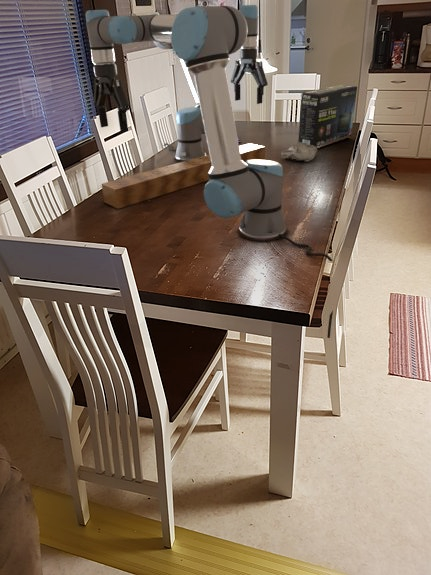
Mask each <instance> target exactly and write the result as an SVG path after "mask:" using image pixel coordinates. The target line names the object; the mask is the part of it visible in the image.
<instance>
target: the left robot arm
mask: <svg viewBox="0 0 431 575" xmlns="http://www.w3.org/2000/svg"><path fill="white" fill-rule="evenodd" d="M238 10H239V11H240V12H241V13H242V14H243V16H244V17H245V19H246V22H247V27H248V32H247V38H246V40H245V43H244V44H243V46H242V47H241V48H240V49H239V59H236V60H235V61H234V62H235V64H234V69H233V70H232V71H233V72H232V75H231V77H230V83H232V85H233V92H234V101H241V83H240V82H241V80H242V79H243V77H244V75H245V74H246V73H248V74H249V73H250V75H252V77H253V79H254V81H255V83H256V84H257V87H256V104H257V105H260V104H263V96H264V94H265V93H264V90H265V87H267V86H268V81H267V77H266V74H265V69H264V67H263V61H262V60H260V61H257V59H258V54H259V52H258V51H259V49H258V48H257V47H258V46H259V44H258V43H259V41H258V40H259V6H258V5H257V4H241V5H240V6H239V9H238ZM152 42H153V44H154V45H155V47H157V48H159V49H161V50H172V52H173V54H174V56H175V57H177V55H176V54H175V52H174V50H173V47H172V42H161V41H159V42H157V41H152ZM179 62H180V64H181V67H182V71H183V73H184V75H185V78H186V81H187V83H188V86H189V89H190V92H191V95H192V97H193V100H194V103H195V105H194V106H186V107H183V108H180V109H178V110H177V111H176V114H175V122H176V133H177V136H176V137H177V145H176V149H175V148H173V146H172V145H171V144H169V143H167V142H165V143H164V144H163V147H166V146H168V147H169V150H170V151H172V152H175V157H174V158H175V160H176V161H178V162H179V163H180V162H183V161H187V160H191V159H194V158H198V157H202V156H205V155H207V152H206V150H205V147H204V145H203V144H204V143H203V140H202V135H206V134H205V129H204V124H203V119H202V114H201V109H200V104H199V99H198V94H197V89H196V84H195V79H194V76H193V74H191V73H190V72H189V71H187V69H186V64H185V61H183V60H181V59H179Z"/></svg>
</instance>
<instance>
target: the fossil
mask: <svg viewBox="0 0 431 575" xmlns="http://www.w3.org/2000/svg"><path fill="white" fill-rule="evenodd" d="M316 152H317V153H318V149H317V147H315V146H314V145H308V144H307V143H303V142H298V141H297V143H296V145H291V146H289V148H288V149H284V150H282V151H281V152H280V156H281V158H282V159H284V160H289V159H291V158H292V159H291V160H293V159H297V160H296V161H303V160H309V161H303V162H304V163H309V162H310V161H312V160H314V158H315V156H316V155H317V153H316ZM282 156H288V157H290V158H283V157H282Z"/></svg>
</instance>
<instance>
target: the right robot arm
mask: <svg viewBox="0 0 431 575" xmlns="http://www.w3.org/2000/svg"><path fill="white" fill-rule="evenodd" d="M239 10H240V9H237V8H236V7H233V6H232V5H231V6H230V5H195V6H190V7H186V8H183V9H181V10H180V11H179V12H178V13H177V14H158V13H153V14H140V15H139V14H137V15H113V16H110V12H109V10H108V9H93V10H87V11H86V12H85V21H86V23H85V26H86V31H87V35H88V41H89V46H90V47H89V48H90V54H91V61H92V63H93V66H92V67H93V72H94V76H95V78H94V79H93V83H94V84H93V85H94V88H93V106H95V107H96V109H97V111H98V112H97V113H98V118H99V119H98V120H99V124H100V128H106V127H109V121H108V116H107V114H108V113H107V109H106V100H107V97H108V95H109V97H111V99H112V101H113V103H114V105H115V106H116V108H117V118H118V124H119V125H118V126H119V131H120V133H125V132H129V126H128V119H127V118H128V117H127V116H128V115H127V112H128V111H130V106H129V103H128V100H127V97H126V95H125V93H124V90H123V86H122V81H121V79H115V77H117V76H118V68H117V64H116V63H115V62H116V55H115V54H116V53H115V49H114V45H129V44H133V43H143V42H153V41H157V42H159V41H161V42H172V47H173V49H172V51H173V50H174V52H175V54H176V55H177V56H176V57H177V58H178V59H179V60H180V59H181V60H183V61H185V64H186V69H187V71H189V72H190V73H191V74H193V76H194V79H195V84H196V89H197V94H198V99H199V104H200V109H201V114H202V119H203V124H204V129H205V134H204V135H205V139H206V144H207V148H208V155H209V154H210V159H211V164H212V166H211V168H210V170H209V172H208V176H209V180H208V181H207V183H206V184H204V188H203V197H204V202H205V203H206V206H207V207H208V209H209V210H210V211H211V212H212V213H213V214H214V215H216V216H217V217H219V218H221V219H230V218H233V217H237V216H239V215H241V214H242V216H241V220H240V222H239V225H238V232H239V235H240V236H241V237H242V238H244V239H247V240H250V241H254V242H271V241H277V240H279V239H281V238H282V239H284V240H285V241H287V242H288V243H290V244H292V245H293V246H296V247H301V248H303V247H304V248H307V249H306V254H307V255H309V256H311V257H323V258H326V259H327V260H328V261H329V262H333V259H332V258H331V257H330V256H329V255H328V254H326V253H323V252H311V249H312V246H311V245H310V244H306V243H297V242H295V241H294V240H292V239H291V238H290V237H287V236H286V234H287V223H286V221H285V216H284V214H283V210H282V200H283V183H284V180H283V179H284V174H283V173H284V172H283V171H284V169H283V165H282V164H281V163H280V162H278V161H274V160H270V159H265V160H261V159H253V160H247V161H246V162H244V161H242V159H241V155H240V149H239V146H240V144H239V143H238V139H239V137H238V133H237V127H236V122H235V115H234V111H233V110H234V109H233V104H232V98H231V93H230V88H229V83H228V82H229V81H228V76H227V71H226V69H227V66H228V64H229V62H230V55H232V54H235V53H237V52H239V51H240V49H241V47H242V46H243V44H244V43H245V40H246V38H247V32H248V27H247V22H246V19H245V17H244V16H243V14H242V13H241V12H240V11H239ZM174 52H173V53H174ZM237 137H238V138H237ZM333 314H334V310H332V311H331V313H330V314H329V317H328V325H327V326H328V327H327V339H330V338H331V331H332V321H333Z"/></svg>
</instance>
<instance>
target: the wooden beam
mask: <svg viewBox="0 0 431 575" xmlns="http://www.w3.org/2000/svg"><path fill="white" fill-rule="evenodd" d="M239 149H240V155H241V159H242V161H244V162H246V161H247V160H253V159H261V160H266V146H264V145H258V144H255V143H251V142H250V143H246V144H241V145H239ZM211 166H212V164H211V159H210V154H209V153H208V154H206V155H205V156H202V157H198V158H194V159H191V160H187V161H183V162H180V161H179V162H175V163H172V164H169V165H165V166H161V167H158V168H154V169H150V170H147V171H144V172H139V173H136V174H132V175H128V176H125V177H121V178H117V179H115V180H110V181H107V182H103V183H101V189H102V195H103V202H104V203H105V204H106V205H109V206H111V207H113V208H116V209H118V210H119V209H121V208H126V207H128V206H132V205H134V204H138V203H141V202H144V201H147V200H150V199H154V198H158V197H160V196H163V195H166V194H170V193H172V192H176V191H179V190H182V189H185V188H189V187H192V186H195V185H198V184H201V183H204V182H205V183H206V182H209V176H208V172H209V170H210V168H211Z"/></svg>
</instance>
